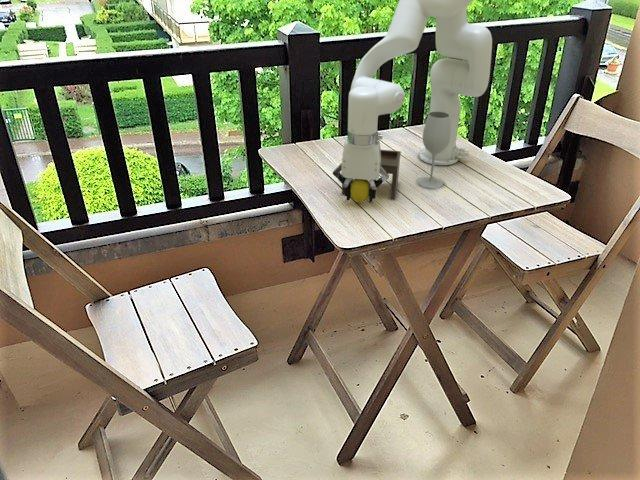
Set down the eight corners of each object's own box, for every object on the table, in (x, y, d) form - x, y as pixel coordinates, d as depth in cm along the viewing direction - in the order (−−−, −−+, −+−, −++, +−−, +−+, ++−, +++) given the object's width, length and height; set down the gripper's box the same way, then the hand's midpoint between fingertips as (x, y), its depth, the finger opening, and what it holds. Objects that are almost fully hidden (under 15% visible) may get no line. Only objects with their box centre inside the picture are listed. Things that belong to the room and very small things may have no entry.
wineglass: (444, 180, 159) (454, 112, 148) (441, 190, 153) (451, 120, 142) (420, 176, 162) (427, 109, 150) (415, 186, 155) (423, 117, 144)
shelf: (397, 183, 157) (400, 151, 152) (394, 199, 148) (397, 166, 143) (348, 178, 160) (349, 146, 155) (342, 194, 151) (343, 161, 145)
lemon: (368, 208, 143) (369, 182, 138) (348, 207, 144) (348, 180, 139) (370, 199, 147) (372, 173, 143) (351, 197, 148) (351, 171, 144)
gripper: (397, 134, 137) (392, 196, 146) (332, 129, 140) (331, 190, 149) (394, 145, 130) (389, 209, 140) (326, 140, 134) (326, 203, 143)
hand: (359, 198), depth 145 cm, fingers closed on lemon, 5 cm apart
